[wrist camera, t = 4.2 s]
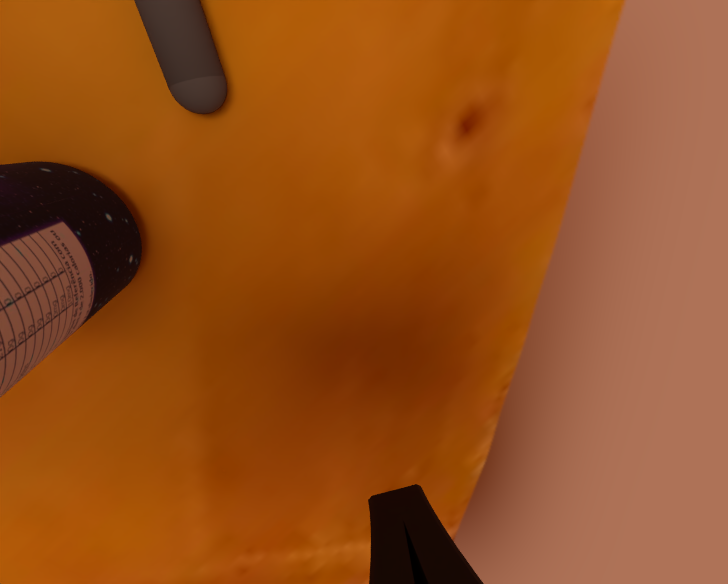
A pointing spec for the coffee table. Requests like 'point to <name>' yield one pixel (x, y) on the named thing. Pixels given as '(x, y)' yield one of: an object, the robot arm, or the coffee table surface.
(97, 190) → the beverage can
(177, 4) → the cord
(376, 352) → the coffee table surface
